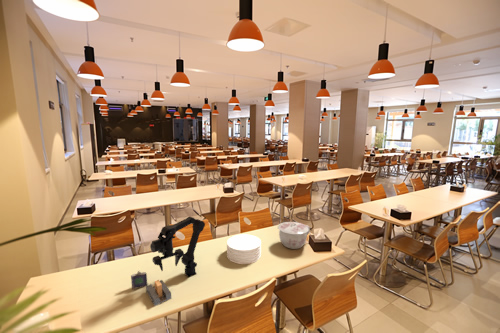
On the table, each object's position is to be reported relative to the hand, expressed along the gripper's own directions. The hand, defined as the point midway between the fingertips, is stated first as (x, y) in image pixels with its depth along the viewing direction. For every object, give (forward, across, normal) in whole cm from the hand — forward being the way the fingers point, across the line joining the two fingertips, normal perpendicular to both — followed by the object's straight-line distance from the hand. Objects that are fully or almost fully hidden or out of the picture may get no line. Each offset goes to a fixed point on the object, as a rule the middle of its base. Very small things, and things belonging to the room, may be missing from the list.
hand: (169, 268), depth 154 cm
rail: (+12, +9, +5) cm, 16 cm away
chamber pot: (+12, -106, +15) cm, 108 cm away
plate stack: (+12, -62, 0) cm, 63 cm away
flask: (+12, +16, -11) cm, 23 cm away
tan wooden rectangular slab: (+11, +9, +5) cm, 15 cm away
